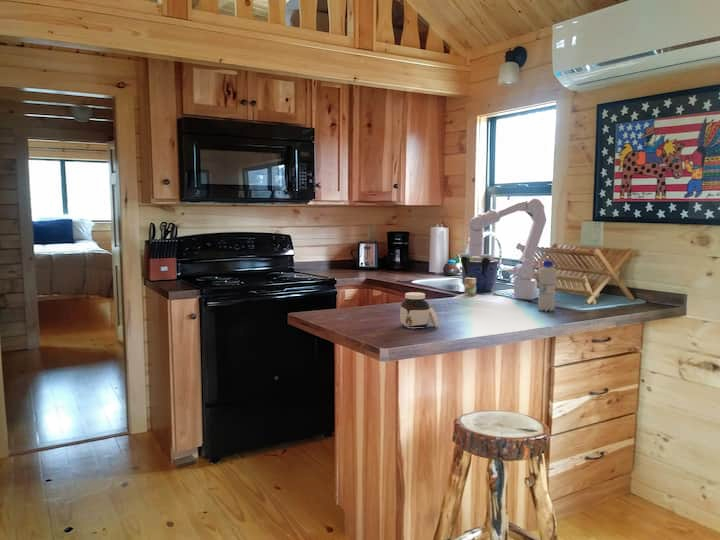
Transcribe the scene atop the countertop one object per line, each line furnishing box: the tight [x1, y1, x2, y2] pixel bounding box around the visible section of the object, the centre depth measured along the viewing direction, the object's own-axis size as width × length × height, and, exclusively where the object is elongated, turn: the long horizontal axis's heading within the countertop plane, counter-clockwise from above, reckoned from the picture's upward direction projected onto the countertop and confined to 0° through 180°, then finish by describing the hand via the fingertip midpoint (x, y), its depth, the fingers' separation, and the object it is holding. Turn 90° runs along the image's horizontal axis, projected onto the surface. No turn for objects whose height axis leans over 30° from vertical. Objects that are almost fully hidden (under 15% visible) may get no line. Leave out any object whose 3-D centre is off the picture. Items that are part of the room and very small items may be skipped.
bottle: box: [537, 260, 558, 313], centre depth 228 cm, size 7×7×20 cm
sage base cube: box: [464, 287, 477, 297], centre depth 261 cm, size 4×4×4 cm
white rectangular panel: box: [450, 292, 507, 304], centre depth 256 cm, size 20×16×1 cm
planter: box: [461, 258, 499, 293], centre depth 276 cm, size 17×17×15 cm
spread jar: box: [399, 291, 440, 328], centre depth 199 cm, size 12×11×12 cm
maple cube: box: [463, 277, 476, 288], centre depth 260 cm, size 4×4×4 cm
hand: (475, 274), depth 258 cm, fingers open, 7 cm apart
